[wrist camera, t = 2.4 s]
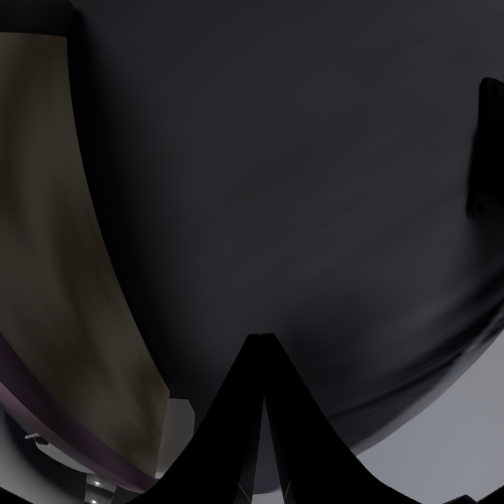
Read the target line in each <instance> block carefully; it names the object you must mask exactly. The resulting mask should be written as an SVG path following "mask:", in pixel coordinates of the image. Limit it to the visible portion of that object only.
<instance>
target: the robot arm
mask: <svg viewBox="0 0 504 504" xmlns="http://www.w3.org/2000/svg"><path fill="white" fill-rule="evenodd" d="M490 87H491V88H492V91H491V88H490ZM478 203H479V204H478ZM477 205H478V206H477ZM468 209H469V211H470V213H472V214H473V215H474V216H476V217H504V83H503V82H501V81H499V80H497V79H494V78H488V77H485V78H483V80H482V82H481V112H480V128H479V139H478V148H477V156H476V163H475V170H474V176H473V182H472V187H471V193H470V197H469V202H468ZM264 395H265V402H266V408H267V413H268V419H269V424H270V430H271V435H272V441H273V446H274V452H275V457H276V463H277V468H278V473H279V478H280V484H281V489H282V494H283V499H284V504H421V503H419V502H417V501H415V500H413V499H411V498H409V497H407V496H405V495H403V494H402V493H400V492H398V491H396V490H394V489H392V488H391V487H388V486H387V485H385V484H384V483H382V482H381V481H379V480H378V479H377V478H375V477H374V476H373V475H372V474H371V473H370V472H369V471H368V470H367V469H366V468H365V467H364V466H363V464H362V463H361V462H360V461H359V460H358V459H357V458H356V456H355V455H354V454H353V453H352V452H351V451H350V450H349V448H348V447H347V446H346V445H345V444H344V443H343V441H342V440H341V439H340V437H339V436H338V435H337V434H336V432H335V431H334V429H333V428H332V427H331V425H330V424H329V422H328V421H327V419H326V417H325V416H324V414H323V413H322V412H320V411H321V410H320V408H319V406H318V405H317V403H316V402H315V400H314V398H313V397H312V395H311V393H310V392H309V390H308V388H307V387H306V385H305V384H304V382H303V380H302V379H301V377H300V375H299V374H298V372H297V370H296V369H295V367H294V365H293V364H292V362H291V360H290V359H289V357H288V355H287V354H286V352H285V350H284V349H283V347H282V345H281V344H280V342H279V340H278V339H277V337H276V335H275V334H274V333H264V334H262V336H261V334H249V335H248V336H247V338H246V340H245V342H244V344H243V346H242V348H241V350H240V351H239V353H238V355H237V357H236V359H235V361H234V363H233V365H232V367H231V369H230V371H229V372H228V374H227V376H226V378H225V380H224V382H223V384H222V386H221V387H220V389H219V391H218V393H217V395H216V397H215V399H214V400H213V402H212V404H211V406H210V408H209V410H208V411H207V413H206V416H205V417H204V418H203V420H202V422H201V424H200V426H199V427H198V429H197V431H196V432H195V434H194V435H193V437H192V439H191V440H190V441H189V443H188V444H187V446H186V447H185V448H184V450H183V451H182V452H181V454H180V455H179V456H178V457H177V459H176V460H175V461H174V463H173V464H172V465H171V466H170V467H169V469H168V470H167V471H166V472H165V474H164V475H163V476H162V477H161V478H160V480H159V481H158V482H157V483H156V484H155V485H154V486H152V487H151V488H150V489H149V490H147V491H146V492H144V493H143V494H141V495H140V496H138V497H136V498H134V499H132V500H131V501H129V502H127V503H126V504H251V502H252V495H253V487H254V479H255V471H256V463H257V455H258V446H259V437H260V428H261V419H262V410H263V400H264ZM0 504H33V503H31V502H29V501H27V500H25V499H23V498H21V497H19V496H17V495H15V494H13V493H11V492H9V491H7V490H5V489H3V488H2V487H0ZM444 504H504V485H503V486H502V487H500V488H498V489H497V490H495V491H494V492H492V493H491V494H489V495H488V496H486V497H484V498H483V499H481V500H479V501H478V502H476V501H475V500H473V499H472V498H471V497H469V496H468V495H463V496H461V497H458V498H456V499H453V500H451V501H449V502H446V503H444Z"/></svg>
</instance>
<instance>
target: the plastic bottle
mask: <svg viewBox="0 0 504 504" xmlns="http://www.w3.org/2000/svg"><path fill="white" fill-rule="evenodd" d="M116 487H117V485H116V484H114V483H112V482H111V481H109V480H107V479H105V478H103V477H101V476H100V475H98V474H93V473H87V487H86V495H85V501H84V504H111V501H112V497H113V494H114V492H115V490H116Z"/></svg>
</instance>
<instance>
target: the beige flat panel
mask: <svg viewBox="0 0 504 504" xmlns="http://www.w3.org/2000/svg"><path fill="white" fill-rule="evenodd" d="M73 17H74V8H73V5H72V3H71V2H70V1H69V0H0V401H1V402H2V403H3V404H4V405H5V406H6V407H7V408H8V409H9V410H10V411H12V412H13V413H14V414H15V415H16V416H17V417H18V418H19V419H20V420H22V421H23V422H24V423H25V424H26V425H27V426H29V427H30V428H31V429H32V430H34V431H35V432H36V433H37V434H39V435H40V436H41V437H42V438H44V439H45V440H46V441H48V442H49V443H50V444H52V445H53V446H54V447H56V448H57V449H59V450H60V451H61V452H63V453H64V454H66V455H67V456H69V457H70V458H72V459H73V460H75V461H76V462H78V463H80V464H81V465H83V466H84V467H86V468H88V469H89V470H91V471H93V472H94V473H96V474H98V475H100V476H101V477H103V478H105V479H107V480H109V481H111V482H112V483H114V484H116V485H118V486H120V487H122V488H124V489H126V490H130V491H135V492H139V493H144V492H146V491H147V490H149V489H150V488H151V487H152V486H154V485H155V484H156V483H157V481H156V480H155V475H156V468H157V462H158V456H159V450H160V444H161V438H162V432H163V427H164V421H165V416H166V410H167V405H168V400H169V395H170V391H169V389H168V388H167V386H166V384H165V382H164V380H163V378H162V377H161V375H160V373H159V371H158V369H157V367H156V365H155V363H154V361H153V359H152V357H151V355H150V353H149V351H148V349H147V347H146V345H145V343H144V341H143V339H142V336H141V334H140V332H139V330H138V328H137V326H136V323H135V321H134V319H133V316H132V314H131V312H130V310H129V307H128V305H127V302H126V300H125V297H124V295H123V293H122V290H121V287H120V285H119V282H118V280H117V277H116V274H115V272H114V269H113V266H112V264H111V261H110V258H109V255H108V252H107V249H106V246H105V243H104V240H103V237H102V234H101V231H100V228H99V224H98V221H97V218H96V214H95V211H94V207H93V204H92V200H91V196H90V192H89V188H88V185H87V180H86V176H85V172H84V168H83V163H82V159H81V154H80V149H79V144H78V138H77V133H76V127H75V121H74V114H73V107H72V100H71V92H70V82H69V71H68V57H67V37H64V36H65V35H66V33H67V32H68V30H69V28H70V26H71V24H72V21H73Z"/></svg>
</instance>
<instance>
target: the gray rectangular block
mask: <svg viewBox="0 0 504 504" xmlns="http://www.w3.org/2000/svg"><path fill="white" fill-rule="evenodd" d="M194 420H195V412H194V410H193V408H192V406H191V404H190V402H189V400H188V399H173V398H169V400H168V405H167V410H166V416H165V421H164V427H163V432H162V438H161V444H160V450H159V456H158V462H157V468H156V475H155V478H159V479H160V478H161V477H162V476H163V475H164V474H165V472H166V471H167V470H168V469H169V467H170V466H171V465H172V464H173V463H174V461H175V460H176V459H177V457H178V456H179V455H180V454H181V452H182V451H183V450H184V448H185V447H186V446H187V444H188V443H189V441H190V440H191V439H192V437H193V429H194Z"/></svg>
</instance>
